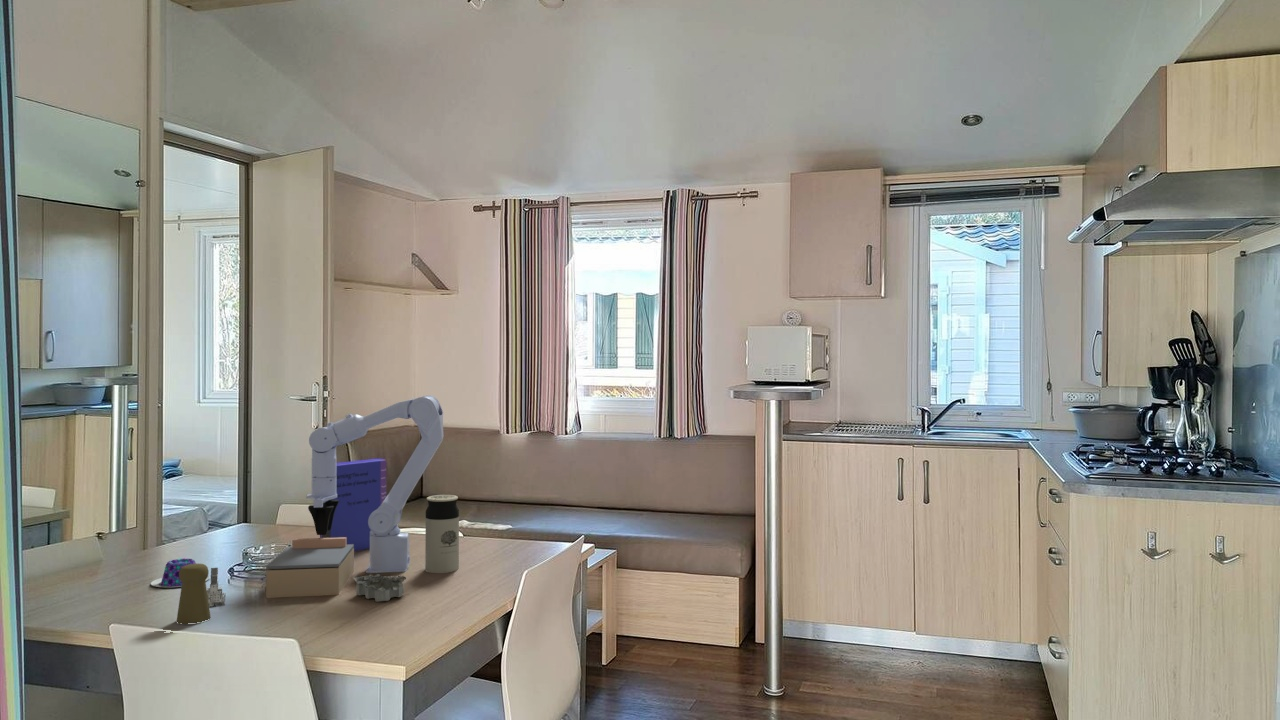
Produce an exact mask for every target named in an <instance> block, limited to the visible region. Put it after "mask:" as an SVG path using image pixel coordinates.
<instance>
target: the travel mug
mask: <svg viewBox="0 0 1280 720" xmlns="http://www.w3.org/2000/svg"><path fill="white" fill-rule="evenodd" d="M458 499H459V497H458V495H454V494H437V495H430V496H428V497H426V500H427V503H428V505H427V508H426V510H425V547H424V549H425V554H424V555H425V557H424V558H425V559H424V561H425V569H424V570H425V572H427V573H432V574H447V573H452V572H455V571H458V570H459V567H460V564H459V563H460V556H459V555H460V509H459V507H458V506H457V502H458Z"/></svg>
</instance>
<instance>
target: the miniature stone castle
mask: <svg viewBox="0 0 1280 720" xmlns="http://www.w3.org/2000/svg"><path fill="white" fill-rule="evenodd" d="M218 576H219V568H218V567H211V568H210V584H209V587H208V588H207V587H206V589H207V596H208V603H209V606H211V607H214V606H215V607H216V606H217V607H218V605H219V606H225V605H226V592H223V587H222V586H219V580H218Z"/></svg>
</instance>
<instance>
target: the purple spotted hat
mask: <svg viewBox="0 0 1280 720" xmlns="http://www.w3.org/2000/svg"><path fill="white" fill-rule="evenodd" d="M196 563H197V562H196V561H195V560H194V559H192V558H177V559H176V558H175V559H172V560H169V561H167V562H166V564H165V567H164V571H163V575H162V577H159V578H157V579H154V580H152V581H151V582H150V585H151V586H153V587H156V588H157V587H158V588H168V589H169V588H170V589H171V588H172V589H173V588H175V587H177V588H181V587H182V582H181V581H180V578H179V571H180V569H181V568H182V567H183V566H185V565H189V564H196ZM209 579H211V576H209V575H208V577H207V579H206V580H205V582H207V581H208V580H209Z"/></svg>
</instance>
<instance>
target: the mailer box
mask: <svg viewBox="0 0 1280 720" xmlns="http://www.w3.org/2000/svg"><path fill="white" fill-rule="evenodd" d="M265 572H266V573H265V583H266V584H265V589H266V590H265V598H267V599H271V598H292V597H313V596H316V597H318V596H331V595H332V596H338V595H340V593H341V592H342V591H343V589H344V587H345V586H346V584H347V583H348V582H349V579H350V578H351V577H352V575H353V574H354V572H355V551H354V548H353V549H352V550H351V551H350V553H349V554H348V555H347V557H346V558H345V559H344V560H343V562H342V563H341V564H340V566H339V567H315V568H286V569H266V570H265Z"/></svg>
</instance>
